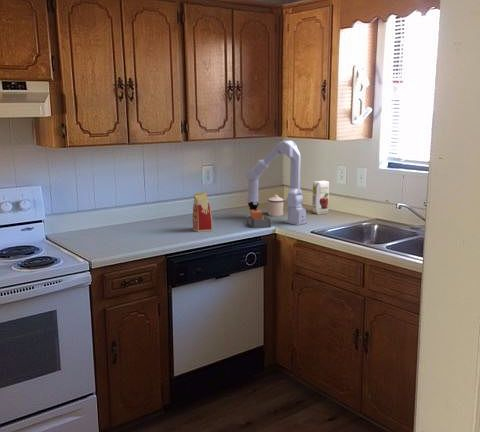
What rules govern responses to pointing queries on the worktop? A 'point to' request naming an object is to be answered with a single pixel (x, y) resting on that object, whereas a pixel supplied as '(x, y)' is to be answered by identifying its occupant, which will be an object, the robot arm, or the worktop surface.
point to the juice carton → (320, 197)
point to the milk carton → (201, 213)
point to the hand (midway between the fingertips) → (253, 215)
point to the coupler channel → (259, 222)
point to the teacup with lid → (275, 206)
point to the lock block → (256, 214)
